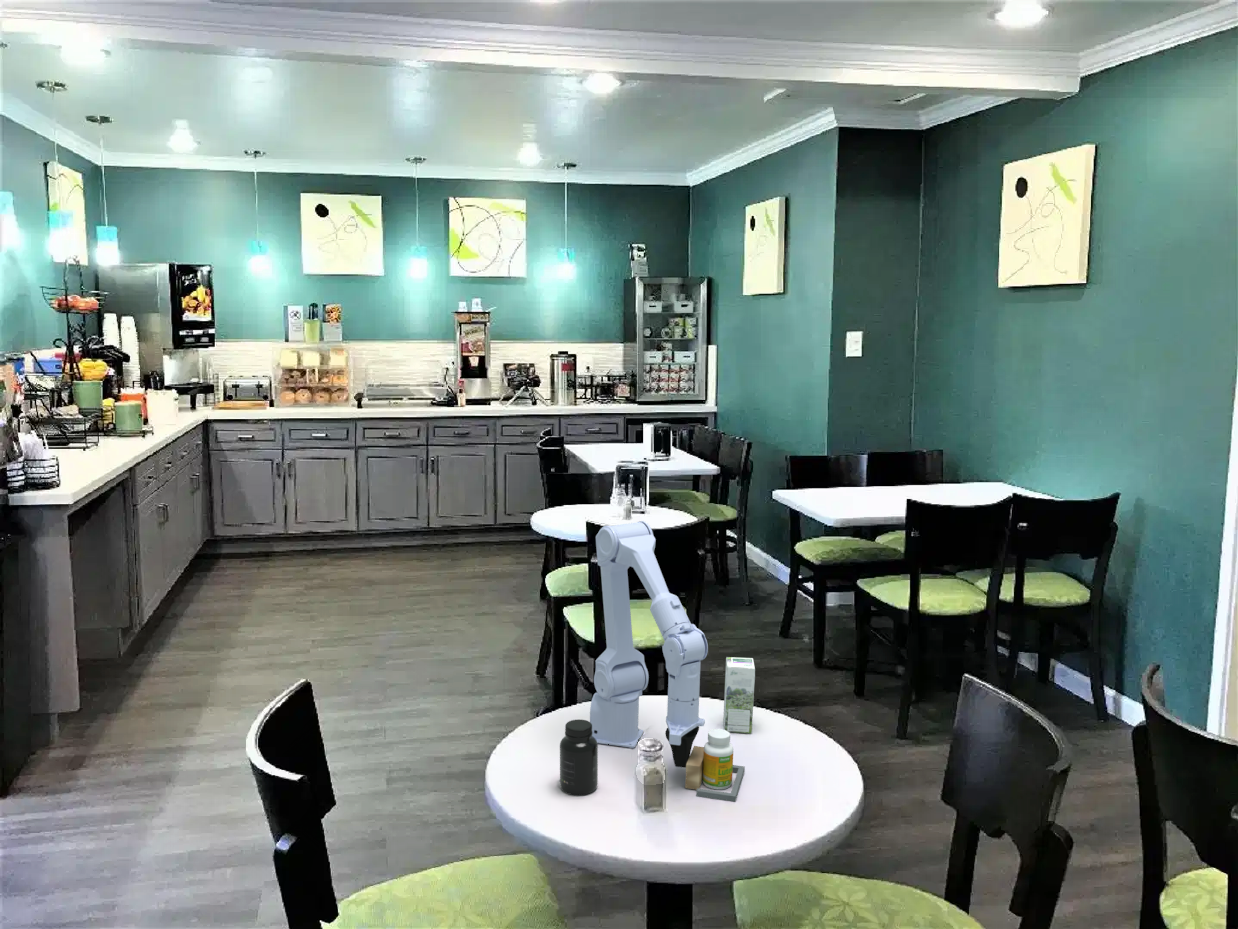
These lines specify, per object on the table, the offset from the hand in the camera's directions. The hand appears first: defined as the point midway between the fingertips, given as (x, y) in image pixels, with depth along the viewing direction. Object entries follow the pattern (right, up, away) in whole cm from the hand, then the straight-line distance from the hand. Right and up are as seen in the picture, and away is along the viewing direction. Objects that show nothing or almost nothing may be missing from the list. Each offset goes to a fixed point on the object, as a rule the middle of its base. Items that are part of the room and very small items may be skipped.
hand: (681, 765), depth 185 cm
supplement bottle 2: (+7, -3, -1) cm, 7 cm away
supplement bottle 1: (-19, -3, -4) cm, 19 cm away
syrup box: (+13, +1, +23) cm, 26 cm away
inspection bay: (+7, -3, -1) cm, 7 cm away
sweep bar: (+3, -3, 0) cm, 4 cm away
